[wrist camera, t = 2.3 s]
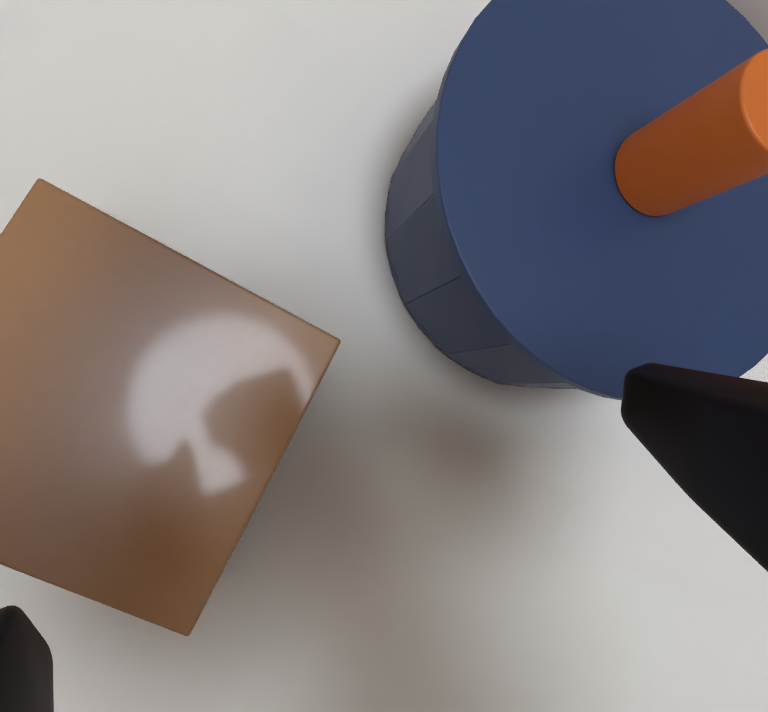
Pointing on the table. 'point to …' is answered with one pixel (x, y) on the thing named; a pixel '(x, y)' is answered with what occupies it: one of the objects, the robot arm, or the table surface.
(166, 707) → the table surface
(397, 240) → the bin
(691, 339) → the bin lid
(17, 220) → the stand
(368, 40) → the table surface
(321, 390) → the table surface
